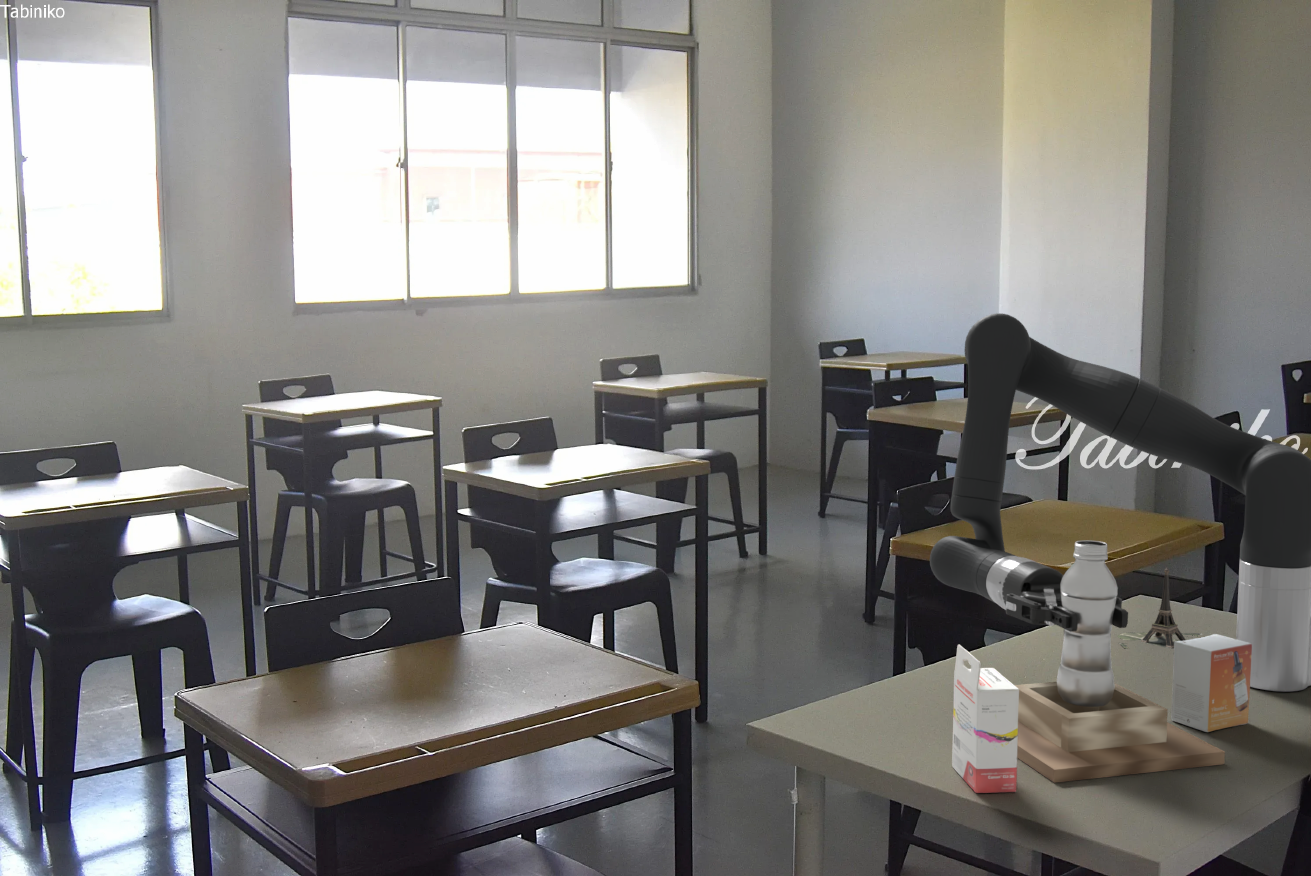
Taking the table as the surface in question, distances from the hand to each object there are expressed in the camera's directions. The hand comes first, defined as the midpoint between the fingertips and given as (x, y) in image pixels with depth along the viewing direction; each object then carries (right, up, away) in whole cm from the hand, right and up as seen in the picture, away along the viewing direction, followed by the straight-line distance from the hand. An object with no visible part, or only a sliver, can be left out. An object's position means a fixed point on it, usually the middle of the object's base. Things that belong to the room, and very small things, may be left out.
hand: (1099, 621), depth 149 cm
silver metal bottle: (-1, -11, +4) cm, 11 cm away
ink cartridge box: (-16, -17, -8) cm, 24 cm away
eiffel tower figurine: (+27, -11, +48) cm, 56 cm away
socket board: (0, -15, +4) cm, 16 cm away
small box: (+18, -15, +10) cm, 25 cm away
